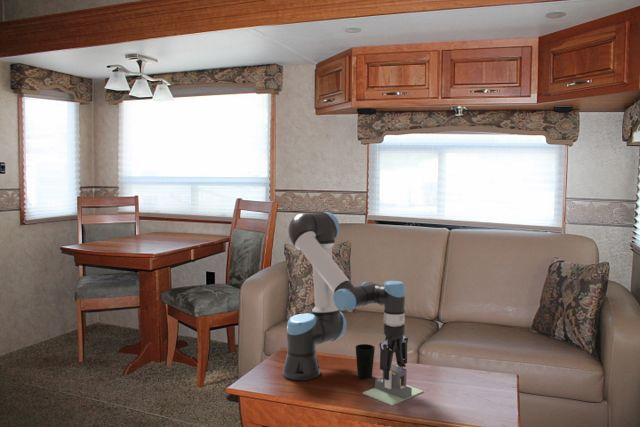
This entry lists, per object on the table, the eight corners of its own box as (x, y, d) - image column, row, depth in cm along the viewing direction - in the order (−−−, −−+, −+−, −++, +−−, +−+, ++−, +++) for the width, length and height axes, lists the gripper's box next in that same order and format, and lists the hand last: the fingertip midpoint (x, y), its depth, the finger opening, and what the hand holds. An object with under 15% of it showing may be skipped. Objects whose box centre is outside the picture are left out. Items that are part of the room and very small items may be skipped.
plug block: (382, 383, 200) (382, 367, 200) (391, 379, 204) (391, 364, 203) (397, 388, 195) (397, 372, 195) (406, 385, 199) (406, 369, 198)
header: (362, 393, 199) (362, 376, 199) (394, 381, 211) (394, 365, 211) (391, 405, 189) (391, 387, 188) (423, 392, 201) (423, 375, 200)
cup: (373, 380, 212) (373, 350, 211) (353, 379, 213) (354, 349, 212) (375, 373, 219) (375, 344, 218) (356, 372, 221) (356, 343, 220)
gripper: (385, 330, 189) (384, 395, 191) (418, 321, 202) (417, 382, 203) (369, 326, 195) (369, 389, 196) (402, 317, 207) (401, 376, 209)
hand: (393, 385), depth 200 cm, fingers open, 5 cm apart
